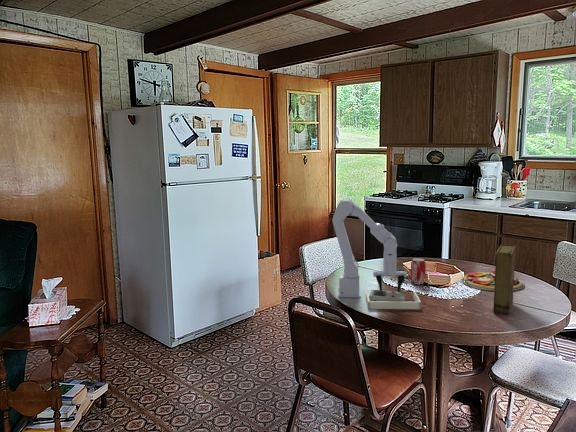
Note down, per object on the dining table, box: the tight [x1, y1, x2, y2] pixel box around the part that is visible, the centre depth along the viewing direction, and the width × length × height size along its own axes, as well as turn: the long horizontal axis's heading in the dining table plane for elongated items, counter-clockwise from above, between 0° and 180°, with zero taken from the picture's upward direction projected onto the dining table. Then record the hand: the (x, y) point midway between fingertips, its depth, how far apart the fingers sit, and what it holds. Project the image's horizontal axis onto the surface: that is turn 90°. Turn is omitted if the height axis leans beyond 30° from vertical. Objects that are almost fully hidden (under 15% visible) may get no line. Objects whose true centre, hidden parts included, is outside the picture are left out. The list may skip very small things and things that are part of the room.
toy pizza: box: [460, 270, 525, 292], centre depth 212 cm, size 28×28×4 cm
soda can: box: [410, 257, 427, 286], centre depth 214 cm, size 7×7×12 cm
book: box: [492, 243, 517, 316], centre depth 178 cm, size 16×6×25 cm, turn 148°
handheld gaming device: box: [368, 289, 406, 302], centre depth 192 cm, size 9×15×4 cm, turn 72°
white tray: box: [365, 291, 422, 310], centre depth 189 cm, size 22×13×3 cm, turn 84°
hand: (389, 291), depth 198 cm, fingers open, 7 cm apart
